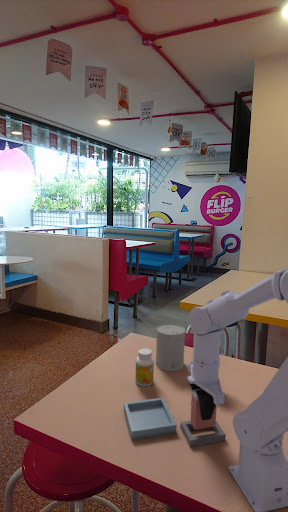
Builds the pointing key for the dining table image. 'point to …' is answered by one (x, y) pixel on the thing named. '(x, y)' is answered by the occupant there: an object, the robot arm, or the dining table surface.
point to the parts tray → (149, 418)
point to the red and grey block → (196, 415)
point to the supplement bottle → (144, 367)
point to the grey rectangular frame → (202, 439)
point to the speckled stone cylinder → (170, 347)
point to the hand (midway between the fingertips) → (203, 414)
